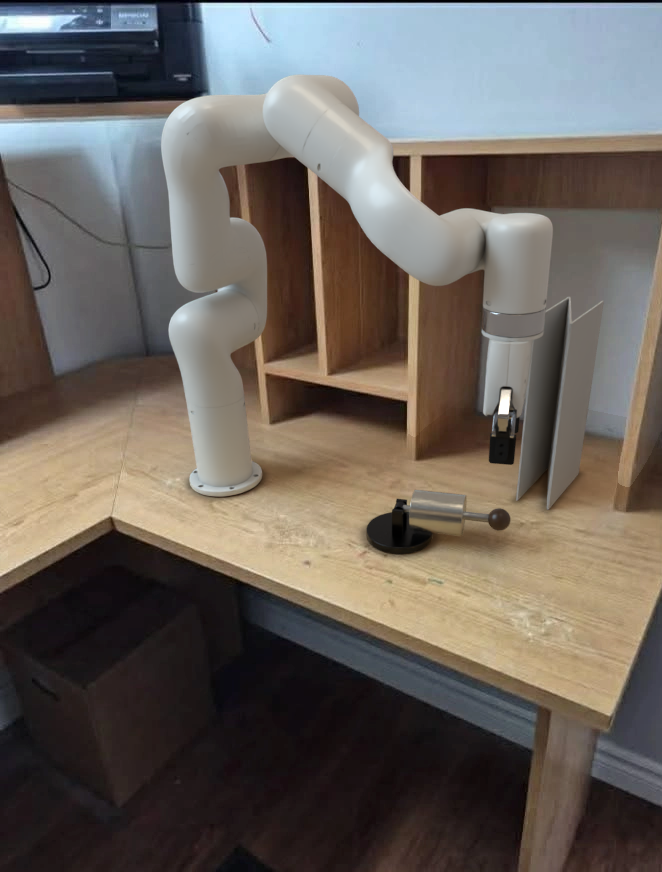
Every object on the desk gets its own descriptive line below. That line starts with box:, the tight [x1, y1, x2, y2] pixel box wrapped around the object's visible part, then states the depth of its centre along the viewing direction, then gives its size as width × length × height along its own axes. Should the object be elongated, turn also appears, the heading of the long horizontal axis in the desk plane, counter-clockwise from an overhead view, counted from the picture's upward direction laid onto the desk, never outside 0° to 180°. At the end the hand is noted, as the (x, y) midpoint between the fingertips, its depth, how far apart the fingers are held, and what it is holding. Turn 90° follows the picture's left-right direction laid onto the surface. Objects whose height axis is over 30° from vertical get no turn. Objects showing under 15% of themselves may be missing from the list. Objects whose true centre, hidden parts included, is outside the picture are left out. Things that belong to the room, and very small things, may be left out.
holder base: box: [365, 498, 434, 555], centre depth 103 cm, size 10×10×5 cm
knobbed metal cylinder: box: [393, 489, 511, 537], centre depth 100 cm, size 17×6×6 cm, turn 75°
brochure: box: [515, 296, 605, 511], centre depth 109 cm, size 14×6×30 cm, turn 145°
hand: (504, 446), depth 93 cm, fingers open, 9 cm apart
